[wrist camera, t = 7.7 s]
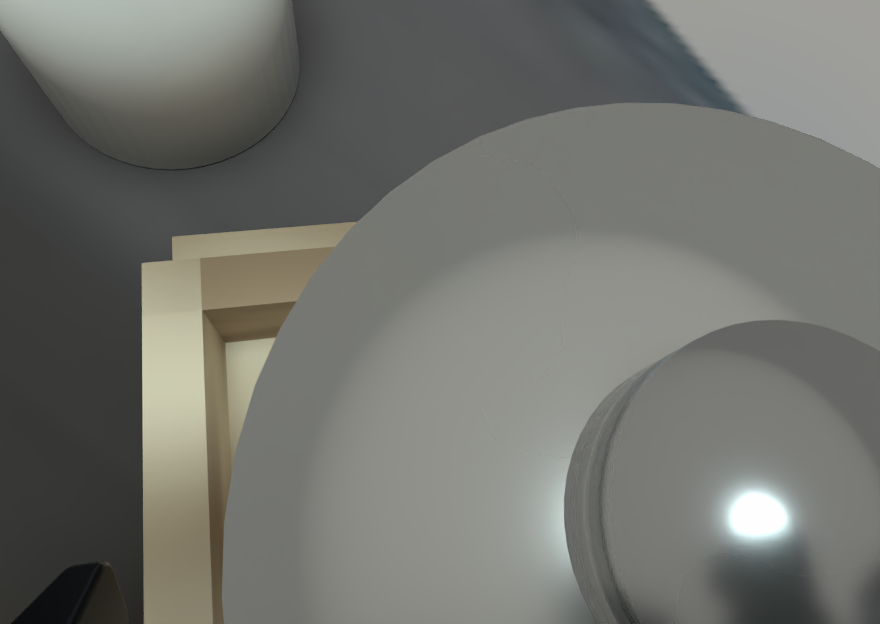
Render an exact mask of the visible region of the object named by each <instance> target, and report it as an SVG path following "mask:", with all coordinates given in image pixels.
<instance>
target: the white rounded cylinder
mask: <svg viewBox="0 0 880 624" xmlns="http://www.w3.org/2000/svg"><path fill="white" fill-rule="evenodd" d="M0 31H1V32H2V34H3V35H4V37H5V38H6V39H7V41H8V42H9V43H10V45H11V46H12V48H13V49H14V50H15V52H16V53H17V55H18V56H19V57H20V59H21V60H22V62H23V63H24V64H25V66H26V67H27V69H28V70H29V71H30V73H31V74H32V75H33V77H34V78H35V80H36V81H37V82H38V84H39V85H40V87H41V88H42V89H43V91H44V92H45V94H46V95H47V96H48V98H49V99H50V100H51V102H52V103H53V105H54V106H55V107H56V109H57V110H58V112H59V113H60V114H61V116H62V117H63V119H64V120H65V121H66V123H67V124H68V126H69V127H70V128H71V129H72V130H73V131H74V132H75V133H76V134H77V135H78V136H79V137H80V138H81V139H82V140H84V141H85V142H86V143H88V144H89V145H90V146H91V147H93V148H95V149H96V150H98V151H100V152H102V153H103V154H105V155H107V156H110V157H112V158H114V159H117V160H119V161H122V162H125V163H129V164H132V165H135V166H141V167H147V168H152V169H169V170H172V169H189V168H195V167H201V166H206V165H209V164H213V163H216V162H220V161H223V160H225V159H228V158H230V157H233V156H235V155H237V154H239V153H241V152H243V151H245V150H246V149H248V148H250V147H252V146H253V145H254V144H256V143H257V142H258V141H260V140H261V139H263V138H264V137H265V136H266V135H267V134H268V133H269V132H270V131H271V130H272V129H273V128H274V127H275V126H276V125H277V124H278V123H279V121H280V120H281V119H282V118H283V116H284V115H285V113H286V111H287V110H288V108H289V107H290V105H291V103H292V100H293V98H294V95H295V93H296V90H297V86H298V81H299V73H300V60H299V50H298V42H297V35H296V27H295V20H294V12H293V5H292V0H0Z"/></svg>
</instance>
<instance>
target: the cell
mask: <svg viewBox="0 0 880 624" xmlns="http://www.w3.org/2000/svg"><path fill="white" fill-rule="evenodd" d="M222 607H223V618H224V624H880V169H879V168H878V167H876V166H874V165H873V164H871V163H869V162H867V161H865V160H863V159H861V158H859V157H857V156H855V155H853V154H851V153H849V152H847V151H845V150H843V149H840V148H838V147H836V146H834V145H832V144H830V143H828V142H826V141H824V140H822V139H819V138H816V137H814V136H811V135H808V134H805V133H802V132H800V131H797V130H794V129H791V128H789V127H785V126H783V125H780V124H777V123H774V122H771V121H767V120H763V119H759V118H755V117H751V116H747V115H743V114H739V113H734V112H730V111H726V110H721V109H713V108H705V107H698V106H690V105H682V104H674V103H617V104H608V105H599V106H589V107H580V108H573V109H568V110H564V111H560V112H556V113H551V114H547V115H543V116H539V117H534V118H530V119H526V120H523V121H520V122H518V123H515V124H512V125H510V126H507V127H504V128H502V129H499V130H496V131H494V132H491V133H488V134H486V135H483V136H480V137H478V138H476V139H474V140H472V141H470V142H468V143H467V144H465V145H463V146H461V147H459V148H457V149H455V150H453V151H452V152H450V153H448V154H446V155H444V156H442V157H440V158H438V159H436V160H435V161H433V162H431V163H430V164H428V165H427V166H426V167H424V168H423V169H421V170H420V171H419V172H417V173H416V174H414V175H413V176H412V177H410V178H409V179H408V180H406V181H405V182H403V183H402V184H401V185H399V186H398V187H396V188H395V189H394V190H392V191H391V192H389V193H388V194H387V195H386V196H385V197H384V198H383V199H382V200H381V201H380V202H379V203H378V204H377V205H375V206H374V207H373V208H372V209H371V210H370V211H369V212H368V213H367V214H366V215H365V216H364V217H363V218H362V219H361V220H360V221H358V222H357V223H356V224H355V225H354V226H353V227H352V228H351V229H350V230H349V231H348V232H347V233H346V235H345V236H344V237H343V238H342V240H341V241H340V242H339V243H338V245H337V246H336V247H335V248H334V249H333V251H332V252H331V253H330V254H329V256H328V257H327V258H326V259H325V261H324V262H323V263H322V264H321V265H320V267H319V268H318V269H317V270H316V272H315V273H314V274H313V275H312V277H311V278H310V280H309V282H308V283H307V285H306V287H305V288H304V290H303V292H302V293H301V295H300V296H299V298H298V300H297V301H296V303H295V305H294V306H293V308H292V310H291V311H290V313H289V314H288V316H287V318H286V319H285V321H284V323H283V324H282V326H281V328H280V330H279V332H278V334H277V337H276V339H275V341H274V343H273V346H272V348H271V350H270V352H269V355H268V357H267V359H266V361H265V364H264V366H263V368H262V371H261V373H260V375H259V377H258V380H257V382H256V384H255V386H254V390H253V393H252V397H251V400H250V403H249V407H248V410H247V414H246V417H245V420H244V424H243V427H242V430H241V434H240V437H239V441H238V444H237V447H236V451H235V457H234V463H233V469H232V475H231V482H230V488H229V494H228V501H227V507H226V513H225V519H224V539H223V571H222Z"/></svg>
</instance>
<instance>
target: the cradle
mask: <svg viewBox="0 0 880 624" xmlns="http://www.w3.org/2000/svg"><path fill="white" fill-rule="evenodd" d="M356 223H357V222H349V223H337V224H324V225H312V226H300V227H287V228H275V229H262V230H250V231H238V232H225V233H213V234H201V235H188V236H176V237H172V252H173V260H172V261H161V262H149V263H142V382H143V552H144V624H224V618H223V607H222V571H223V539H224V519H225V513H226V507H227V501H228V494H229V488H230V482H231V475H232V469H233V463H234V457H235V451H236V447H237V444H238V441H239V437H240V434H241V430H242V427H243V424H244V420H245V417H246V414H247V410H248V407H249V403H250V400H251V397H252V393H253V390H254V386H255V384H256V382H257V380H258V377H259V375H260V373H261V371H262V368H263V366H264V364H265V361H266V359H267V357H268V355H269V352H270V350H271V348H272V346H273V343H274V341H275V339H276V337H277V334H278V332H279V330H280V328H281V326H282V324H283V323H284V321H285V319H286V318H287V316H288V314H289V313H290V311H291V310H292V308H293V306H294V305H295V303H296V301H297V300H298V298H299V296H300V295H301V293H302V292H303V290H304V288H305V287H306V285H307V283H308V282H309V280H310V278H311V277H312V275H313V274H314V273H315V272H316V270H317V269H318V268H319V267H320V265H321V264H322V263H323V262H324V261H325V259H326V258H327V257H328V256H329V254H330V253H331V252H332V251H333V249H334V248H335V247H336V246H337V245H338V243H339V242H340V241H341V240H342V238H343V237H344V236H345V235H346V233H347V232H348V231H349V230H350V229H351V228H352V227H353V226H354V225H355V224H356Z"/></svg>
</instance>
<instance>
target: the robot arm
mask: <svg viewBox="0 0 880 624" xmlns="http://www.w3.org/2000/svg"><path fill="white" fill-rule="evenodd" d="M11 624H129V620H128V612H127V608H126V605H125V602H124V599H123V596H122V593H121V590H120V588H119V585H118V582H117V579H116V576H115V573H114V570H113V568H112V566H111V565H110V564H109V563H107V562H103V561H101V562H94V563H88V564H81V565H74V566H71V567H69V568H67V569H66V570H65V571H63V572H62V573H61V574H60V575H59V576H58V577H57V578H56V579H55V580H54V581H53V582H52V583H51V584H50V585H49V586H48V587H47V588H46V589H45V590H44V591H43V592H42V593H41V594H40V595H39V596H38V597H37V598H36V599H35V600H34V601H33V602H32V603H31V604H30V605H29V606H28V607H27V608H26V609H25V610H24V611H23V612H22V613H21V614H20V615H19V616H18V617H17V618H16V619H15V620H14V621H13V622H12V623H11Z"/></svg>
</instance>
